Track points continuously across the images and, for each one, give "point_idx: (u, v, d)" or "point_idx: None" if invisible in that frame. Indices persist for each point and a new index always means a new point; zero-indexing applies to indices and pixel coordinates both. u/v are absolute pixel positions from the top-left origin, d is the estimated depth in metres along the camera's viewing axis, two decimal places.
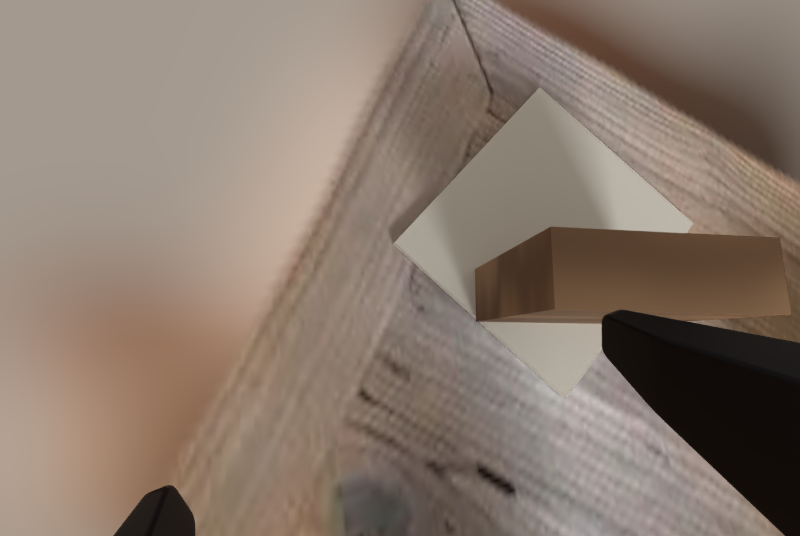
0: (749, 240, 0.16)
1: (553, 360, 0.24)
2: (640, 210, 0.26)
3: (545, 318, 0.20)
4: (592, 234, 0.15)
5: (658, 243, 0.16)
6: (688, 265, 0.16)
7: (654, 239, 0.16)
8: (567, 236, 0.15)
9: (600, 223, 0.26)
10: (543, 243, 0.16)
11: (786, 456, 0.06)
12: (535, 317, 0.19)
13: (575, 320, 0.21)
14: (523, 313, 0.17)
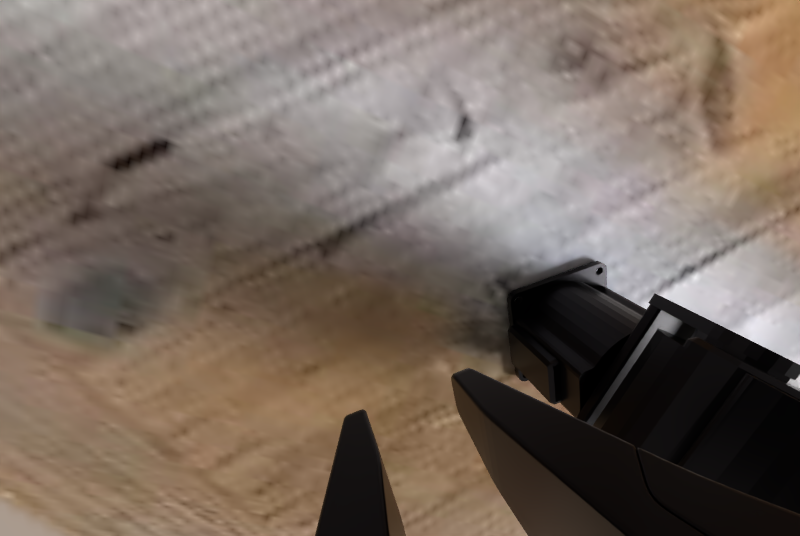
0: None
1: None
2: None
3: None
4: None
5: None
6: None
7: None
8: None
9: None
10: None
11: None
12: None
13: None
14: None
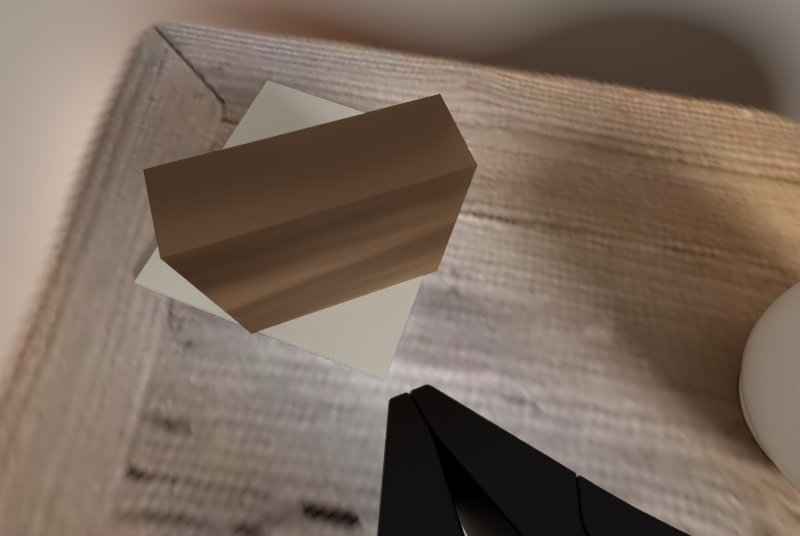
0: (403, 107, 0.14)
1: (356, 342, 0.20)
2: None
3: (279, 292, 0.16)
4: (200, 161, 0.12)
5: (288, 144, 0.13)
6: (332, 154, 0.13)
7: (283, 142, 0.13)
8: (167, 173, 0.12)
9: None
10: None
11: None
12: (255, 294, 0.16)
13: (334, 284, 0.18)
14: (199, 289, 0.14)
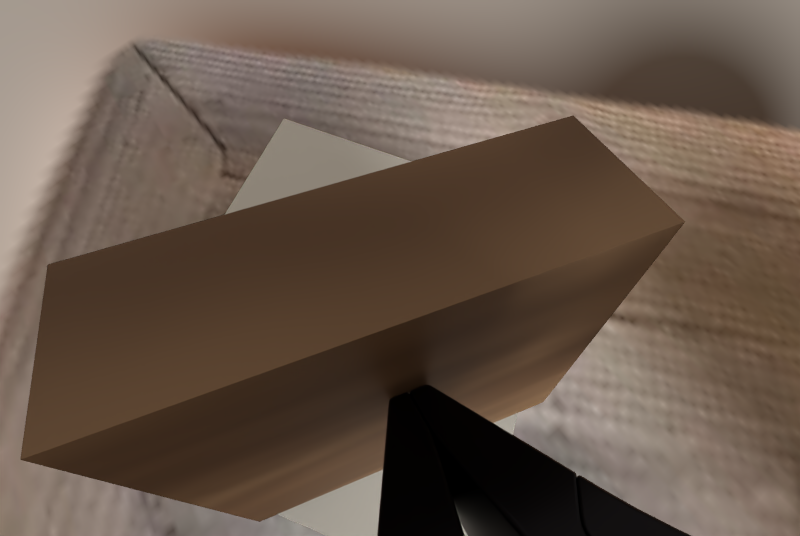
0: (516, 138, 0.08)
1: None
2: None
3: (302, 467, 0.09)
4: (156, 244, 0.07)
5: (318, 207, 0.07)
6: (400, 220, 0.07)
7: (309, 203, 0.07)
8: (90, 268, 0.06)
9: None
10: None
11: None
12: (259, 476, 0.09)
13: None
14: (145, 489, 0.07)
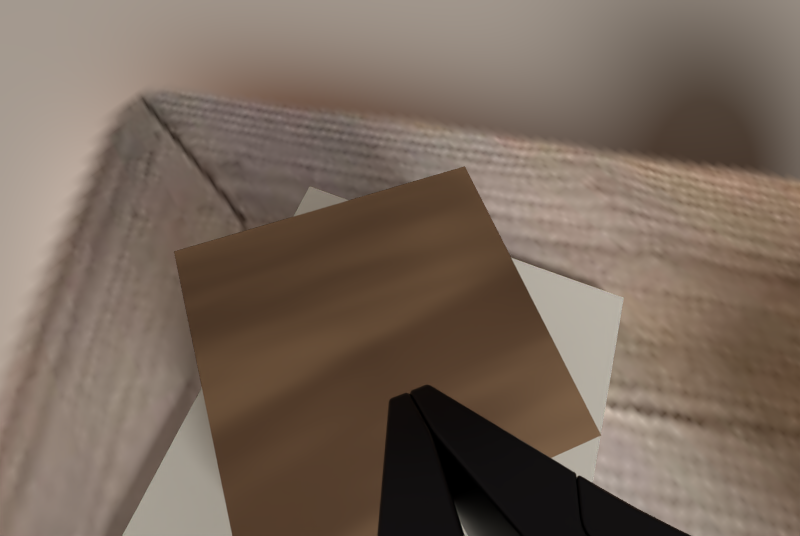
0: None
1: None
2: None
3: (292, 392, 0.11)
4: None
5: None
6: None
7: None
8: None
9: None
10: None
11: None
12: (257, 381, 0.11)
13: (382, 402, 0.11)
14: (192, 335, 0.12)
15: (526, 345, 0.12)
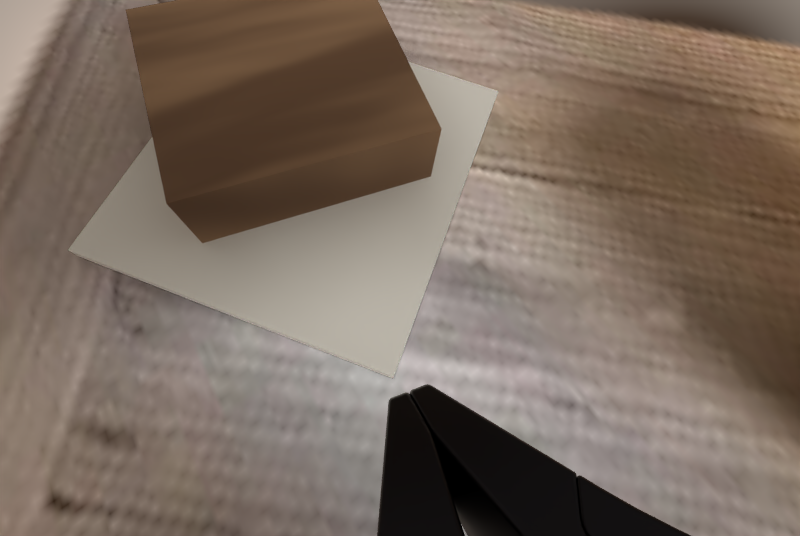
0: None
1: (357, 329, 0.15)
2: None
3: (210, 95, 0.15)
4: None
5: None
6: None
7: None
8: None
9: None
10: None
11: None
12: (184, 87, 0.15)
13: (277, 103, 0.15)
14: (137, 60, 0.15)
15: (392, 75, 0.16)
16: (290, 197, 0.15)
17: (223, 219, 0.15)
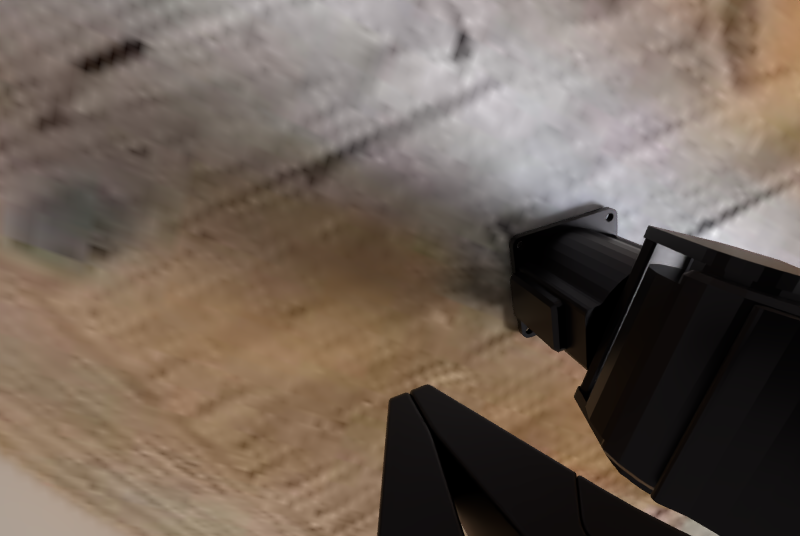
0: None
1: None
2: None
3: None
4: None
5: None
6: None
7: None
8: None
9: None
10: None
11: None
12: None
13: None
14: None
15: None
16: None
17: None
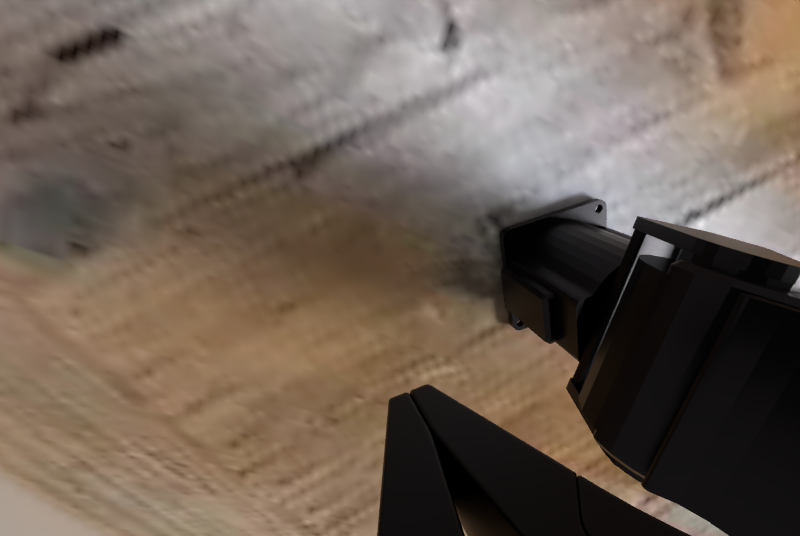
0: None
1: None
2: None
3: None
4: None
5: None
6: None
7: None
8: None
9: None
10: None
11: None
12: None
13: None
14: None
15: None
16: None
17: None
